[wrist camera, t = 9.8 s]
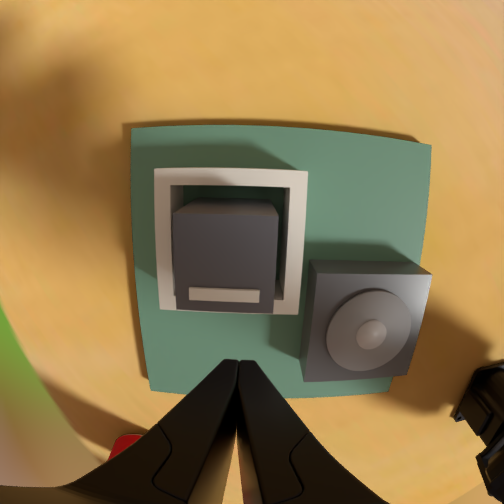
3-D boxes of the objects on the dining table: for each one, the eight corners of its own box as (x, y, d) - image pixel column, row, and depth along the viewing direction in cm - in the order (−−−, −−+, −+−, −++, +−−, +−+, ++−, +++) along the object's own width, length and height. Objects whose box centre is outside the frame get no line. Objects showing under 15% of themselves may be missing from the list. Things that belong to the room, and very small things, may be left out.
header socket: (298, 170, 17) (307, 171, 14) (291, 292, 19) (298, 314, 16) (169, 167, 17) (154, 168, 14) (172, 288, 19) (159, 309, 16)
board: (423, 145, 18) (431, 145, 17) (384, 384, 23) (388, 391, 22) (137, 129, 18) (131, 128, 17) (153, 382, 22) (150, 390, 21)
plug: (270, 199, 18) (279, 216, 12) (266, 267, 19) (273, 315, 13) (198, 197, 18) (171, 214, 12) (198, 265, 19) (175, 311, 13)
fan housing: (413, 262, 19) (436, 277, 16) (393, 355, 21) (409, 379, 18) (309, 259, 19) (319, 276, 16) (298, 359, 21) (304, 387, 18)
